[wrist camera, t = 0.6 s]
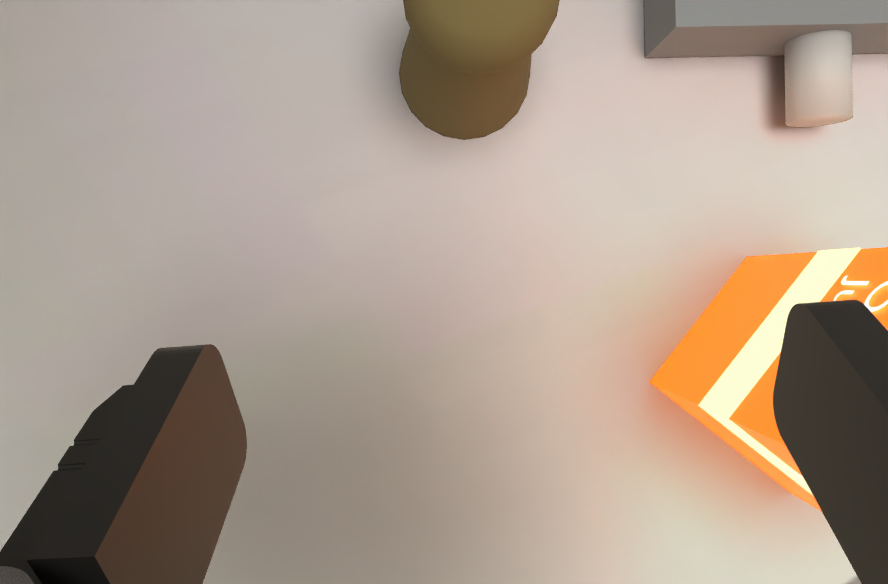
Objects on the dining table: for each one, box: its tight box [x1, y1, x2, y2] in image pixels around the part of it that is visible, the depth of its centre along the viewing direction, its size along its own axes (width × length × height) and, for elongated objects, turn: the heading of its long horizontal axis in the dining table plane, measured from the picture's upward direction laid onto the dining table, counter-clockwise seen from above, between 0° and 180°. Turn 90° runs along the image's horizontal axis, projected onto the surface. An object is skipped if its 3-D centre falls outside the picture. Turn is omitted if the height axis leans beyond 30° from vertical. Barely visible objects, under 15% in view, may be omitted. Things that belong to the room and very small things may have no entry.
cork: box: [399, 0, 559, 140], centre depth 27 cm, size 6×6×11 cm
